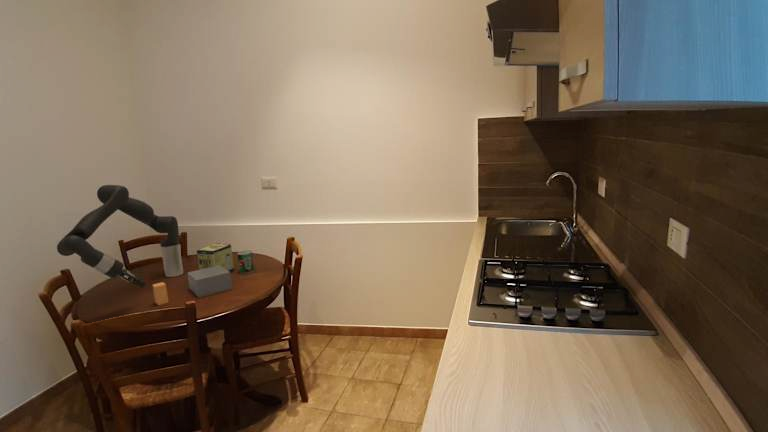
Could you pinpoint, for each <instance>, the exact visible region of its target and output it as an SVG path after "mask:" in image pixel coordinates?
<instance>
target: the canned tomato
mask: <svg viewBox="0 0 768 432" xmlns="http://www.w3.org/2000/svg"><path fill="white" fill-rule="evenodd" d="M237 260H238V270H239V273H240V274H243V275H244V274H251V273H254V272H255V267H254V266H255V265H254V257H253V251H252V250H242V251H241V250H240V251H238V252H237Z"/></svg>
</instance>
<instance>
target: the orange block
mask: <svg viewBox="0 0 768 432" xmlns="http://www.w3.org/2000/svg"><path fill="white" fill-rule="evenodd" d="M152 292H153V297H154V302H155V304H156V305H157V306H160V305H162V306H163V305H166V304H168V303H169V296H168V290H167V284H166V283H165V282H163V281H162V282H158V283H154V284H152Z"/></svg>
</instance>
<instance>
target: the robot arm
mask: <svg viewBox="0 0 768 432" xmlns="http://www.w3.org/2000/svg"><path fill="white" fill-rule="evenodd" d="M96 196H97V198H98V200H99V202H100V203H102V205H101V206H99V207H98V208H95V209H94V210H92V211H90V212H89V213H87V214H85V215H84V216H83V217H81V219H80V220H79V221H78V222H77V223H76V224H75V226H73V228H72V229H71V230H70V231H69V232H68V233H67V234H66V235H64V237H63V238H62V239H61V240H60V241H58V243H57V245H56V249H57V250H56V251H57V253H59V255H61V256H64V257H69V256H73V255H74V254H76V255H78V256H79V257H80V261H81V262H82V263H83V264H85V265H87V266H89V267H91V268H93V269H94V270H96V271H97V272H99V273H101V274H103V275H105V276H107V277H109V278H111V279H114V278H115V279H116V277H117V276H118V277H119V278H120V279H121V280H124V281H126V282H128V283H131V284H132V285H135V286H138V287H140V288H141V289H143V288H144V287H145V286H146V283H145V282H143V281H142V280H141V278H139V277H138V276H135V275H134V274H133V273H132V272H131V271H129V270H128V269H126V268H124V266H125V264H124V262H122V261H120V260H118V259H116V258H114V257H113V256H110V255H108V254H107V253H104V252H102V251H100V250H98V249H97V248H94V246H92V245H91V244H90V243H89V242H88V241H87V240H88V239H90V237H92V236H93V234H94V233H95V232H96V231H97V229H98V228H99V227H100V226H101V225H102V224H103V223H104V222H105V221H106V220H107V219H108V218H110V217H111V216H112V215H114V214H115V212H117V211H118V210H119V211H120V212H122V213H124V214H125V215H127V216H129V217H131V218H133V219H135V221H138V222H140V223H143V224H144V225H146V226H147V227H150V228H151V229H152V230H153V231H155V232H156V233H159V234H167V237H166V238H164V239H162V240H160V242H159V244H160V249H161V251H160V252H161V257H162V262H163V269H164V273H165V274H164V276H165V277H167V278H173V277H179V276H181V275H183V274H184V268H183V263H182V262H183V261H182V255H181V249H180V233H179V232H180V231H179V222H178V219H177V218H176V217H175V216H172V215H171V216H166V215H165V216H159V215H156V214H155V211H154V208H153V207H152V206H151V205H149V204H148V203H146V202H145V201H143V200H140V199H137V198H133V197H130V192H129V189H128V188H127V187H126V186H124V185H119V184H105V185H102V186H100V187H99V188H98V189H97V192H96Z"/></svg>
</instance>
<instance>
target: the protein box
mask: <svg viewBox="0 0 768 432" xmlns="http://www.w3.org/2000/svg"><path fill="white" fill-rule="evenodd" d="M196 255H197V261H198V263H197V264H198V268H199V269H198V270H201V269H205V268H209V267H214V266H218V265H220V266H221V267H223V268H225V269H226V270H228V271H229V272H230V273H232V272H234V271H235V267H234V257H233V250H232V244H230V243H229V244H228V243H217V242H216V243H214V244H211V245H209V246H205V247H203V248H200V249H197V250H196Z"/></svg>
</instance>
